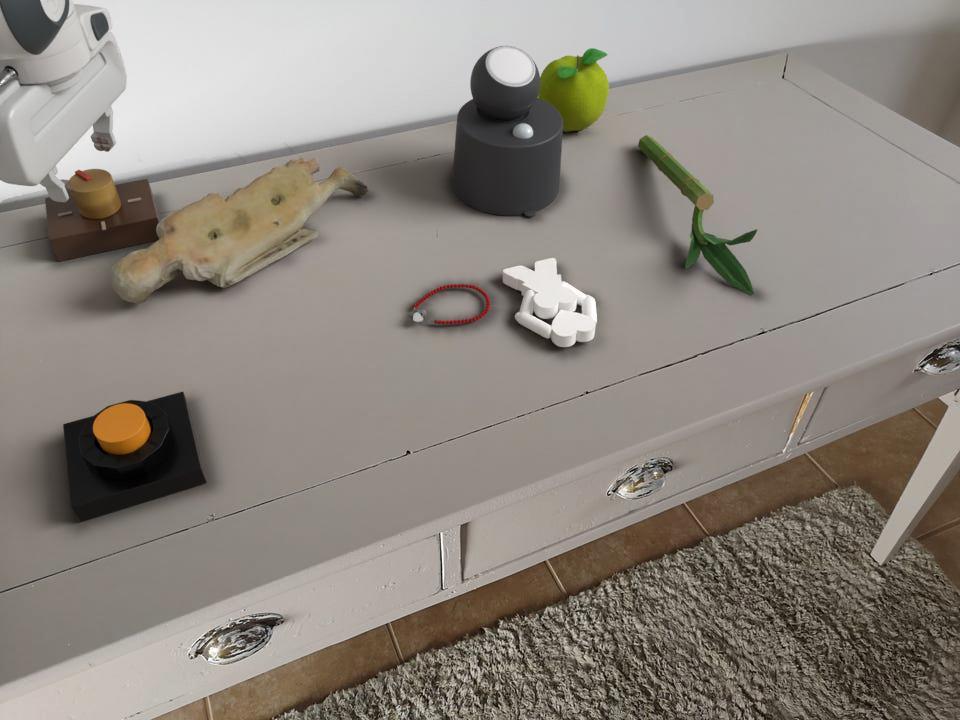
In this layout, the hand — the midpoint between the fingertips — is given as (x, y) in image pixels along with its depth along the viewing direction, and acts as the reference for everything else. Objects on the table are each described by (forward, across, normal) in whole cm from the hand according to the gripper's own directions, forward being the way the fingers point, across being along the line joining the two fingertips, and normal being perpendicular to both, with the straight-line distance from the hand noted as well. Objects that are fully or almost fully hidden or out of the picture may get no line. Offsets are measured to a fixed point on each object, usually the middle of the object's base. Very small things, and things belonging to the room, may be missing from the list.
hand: (85, 171), depth 82 cm
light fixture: (+8, +17, -44) cm, 47 cm away
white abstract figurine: (+8, -4, -51) cm, 52 cm away
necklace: (+8, -6, -40) cm, 41 cm away
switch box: (+7, -30, -17) cm, 35 cm away
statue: (+8, 0, -17) cm, 19 cm away
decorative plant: (+8, +15, -65) cm, 67 cm away
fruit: (+8, +33, -50) cm, 61 cm away
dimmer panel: (+8, 0, 0) cm, 8 cm away
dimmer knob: (+4, 0, 0) cm, 4 cm away
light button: (+4, -30, -17) cm, 34 cm away
